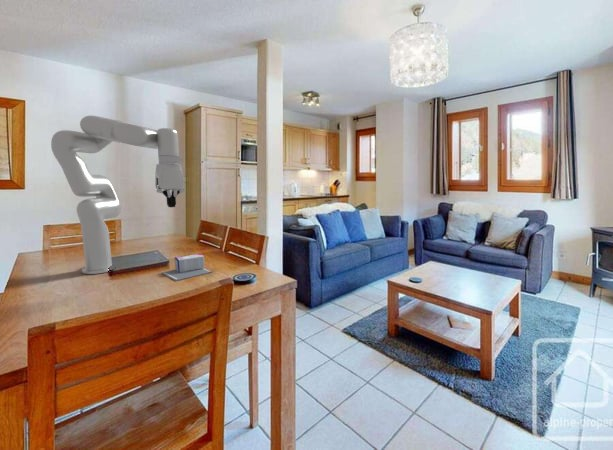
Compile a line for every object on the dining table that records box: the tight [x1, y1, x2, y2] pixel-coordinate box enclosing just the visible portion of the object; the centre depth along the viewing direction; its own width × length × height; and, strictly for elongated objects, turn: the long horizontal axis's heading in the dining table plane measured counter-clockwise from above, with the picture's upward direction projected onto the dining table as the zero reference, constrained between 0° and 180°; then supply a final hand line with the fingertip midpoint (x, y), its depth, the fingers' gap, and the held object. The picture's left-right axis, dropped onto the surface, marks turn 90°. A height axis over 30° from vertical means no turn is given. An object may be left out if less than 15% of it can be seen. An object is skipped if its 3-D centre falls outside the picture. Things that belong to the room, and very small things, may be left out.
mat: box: [161, 268, 213, 282], centre depth 131 cm, size 14×16×1 cm
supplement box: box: [174, 253, 206, 272], centre depth 135 cm, size 6×6×12 cm
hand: (171, 206), depth 123 cm, fingers closed
